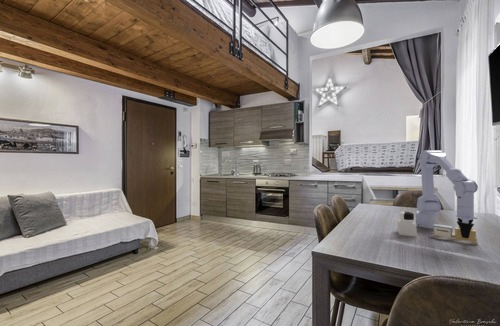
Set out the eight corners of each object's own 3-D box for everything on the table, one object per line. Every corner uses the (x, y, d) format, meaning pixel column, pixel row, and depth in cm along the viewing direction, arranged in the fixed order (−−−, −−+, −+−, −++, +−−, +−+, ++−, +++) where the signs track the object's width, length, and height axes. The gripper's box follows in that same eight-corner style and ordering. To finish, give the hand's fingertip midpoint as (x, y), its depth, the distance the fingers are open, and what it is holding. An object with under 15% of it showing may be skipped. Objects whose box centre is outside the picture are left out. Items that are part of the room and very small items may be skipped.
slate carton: (433, 236, 113) (433, 225, 113) (433, 234, 116) (433, 223, 116) (452, 239, 109) (452, 228, 109) (452, 237, 112) (452, 226, 112)
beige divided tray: (431, 239, 112) (431, 234, 112) (434, 231, 126) (434, 227, 126) (477, 247, 102) (477, 242, 102) (475, 237, 115) (475, 233, 115)
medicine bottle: (413, 234, 120) (413, 211, 120) (416, 238, 114) (416, 214, 114) (397, 232, 123) (397, 210, 123) (399, 236, 117) (399, 212, 117)
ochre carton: (475, 241, 106) (475, 229, 106) (475, 243, 103) (475, 231, 103) (455, 238, 111) (455, 226, 111) (454, 240, 108) (454, 228, 108)
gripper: (478, 210, 99) (478, 241, 99) (476, 205, 110) (476, 233, 110) (456, 207, 104) (456, 238, 104) (456, 203, 115) (456, 230, 115)
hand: (465, 235), depth 107 cm, fingers open, 7 cm apart
